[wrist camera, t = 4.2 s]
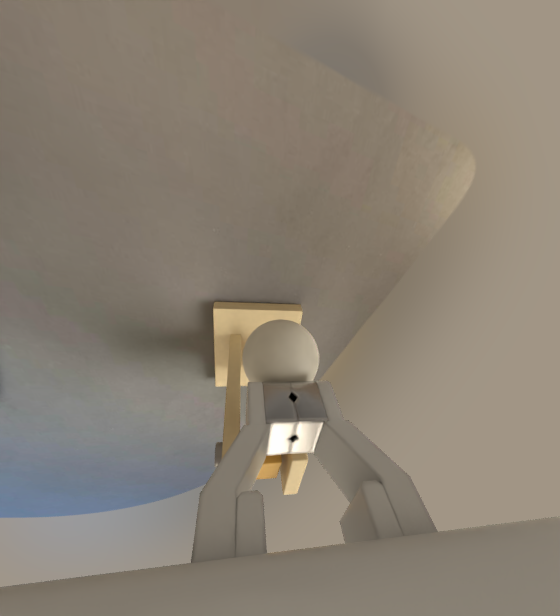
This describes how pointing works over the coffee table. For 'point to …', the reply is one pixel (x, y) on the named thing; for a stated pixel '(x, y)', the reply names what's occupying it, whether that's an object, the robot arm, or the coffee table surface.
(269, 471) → the lever
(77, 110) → the coffee table surface
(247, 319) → the bracket
